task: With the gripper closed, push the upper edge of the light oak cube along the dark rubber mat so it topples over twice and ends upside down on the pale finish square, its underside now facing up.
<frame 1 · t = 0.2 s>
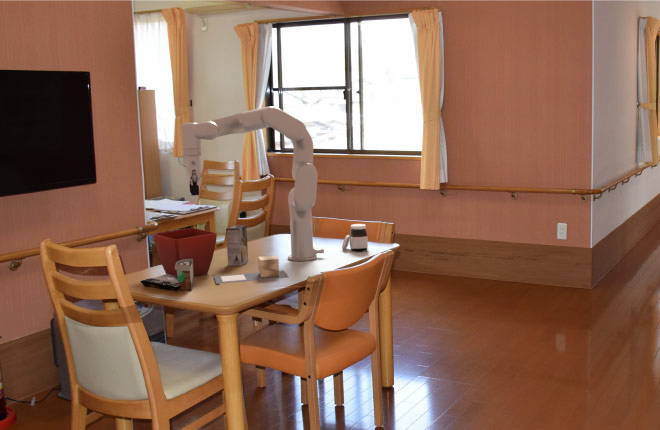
hand: (194, 193, 307), 31 cm above the table, fingers open, 9 cm apart
topple mat: (251, 277, 288), on the table
oak cube: (268, 275, 290), resting on topple mat
spread jar: (354, 250, 336), on the table
food container: (184, 288, 275), on the table
coffee box: (238, 264, 315), on the table
plant pot: (187, 274, 299), on the table
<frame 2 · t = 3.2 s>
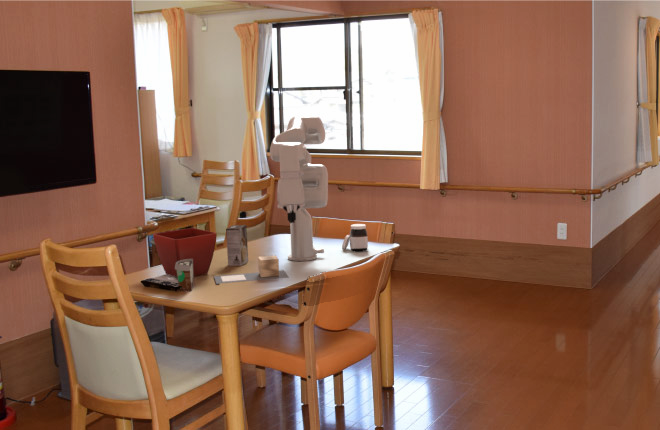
hand: (291, 222, 289), 21 cm above the table, fingers closed
nothing on the table moved.
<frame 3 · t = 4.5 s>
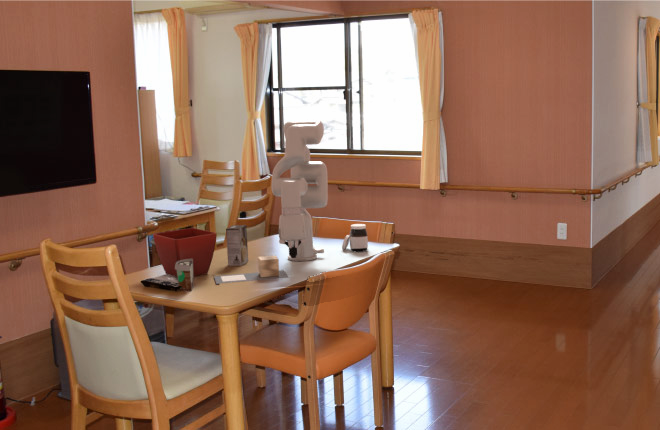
hand: (293, 257, 291), 7 cm above the table, fingers closed
nothing on the table moved.
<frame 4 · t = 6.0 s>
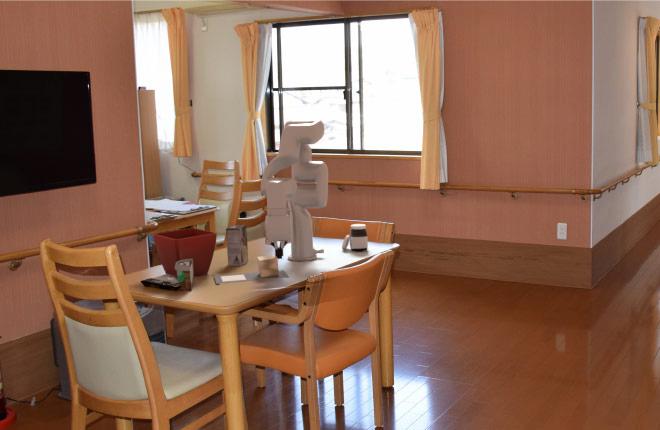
hand: (279, 258, 290), 7 cm above the table, fingers closed
oak cube: (268, 274, 290), point 1 cm above the table, touching gripper, topple mat
everything else where it was.
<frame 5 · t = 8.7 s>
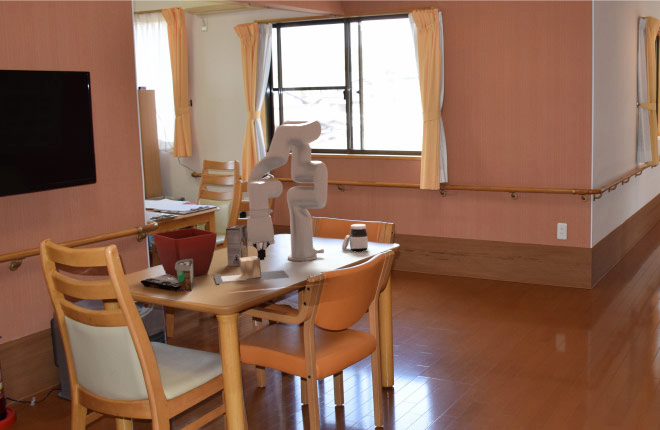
hand: (261, 259, 288), 7 cm above the table, fingers closed
oak cube: (259, 266, 288), point 4 cm above the table, tilted 92°, touching gripper, topple mat
everything else where it was.
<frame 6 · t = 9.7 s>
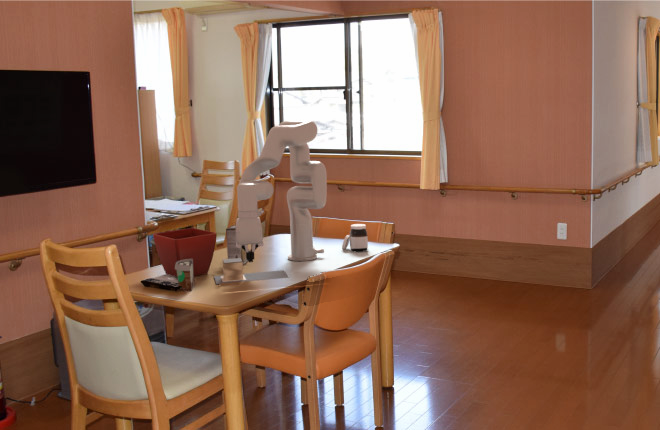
hand: (250, 261, 287), 7 cm above the table, fingers closed
oak cube: (232, 260, 286), point 8 cm above the table, tilted 180°, touching topple mat
everything else where it was.
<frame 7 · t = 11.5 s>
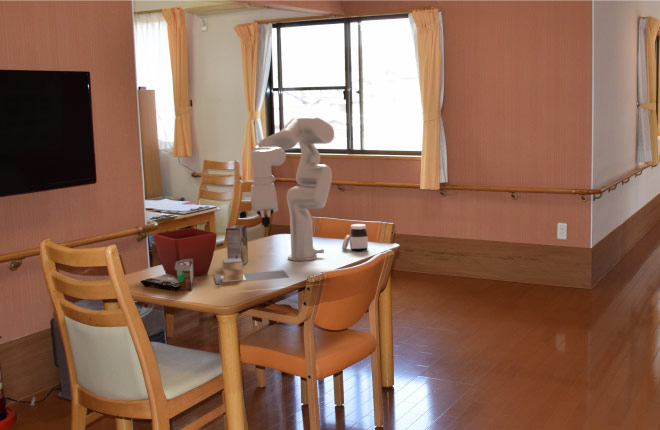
hand: (266, 226, 293), 19 cm above the table, fingers closed
nothing on the table moved.
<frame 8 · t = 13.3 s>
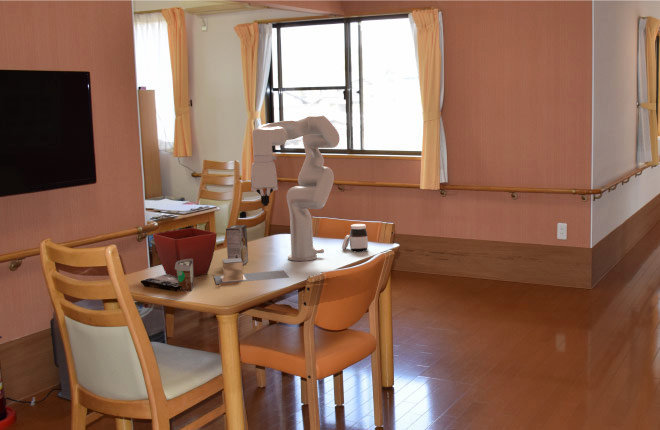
hand: (265, 205, 294), 27 cm above the table, fingers closed
nothing on the table moved.
at the end: oak cube tilted 180°; oak cube inside the target area (0.5 cm from its centre), point 7.6 cm above the table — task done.
